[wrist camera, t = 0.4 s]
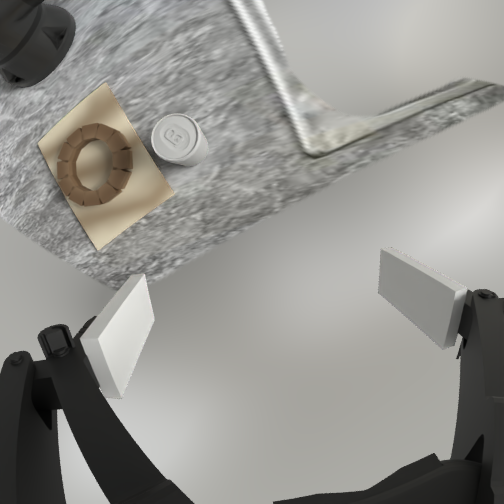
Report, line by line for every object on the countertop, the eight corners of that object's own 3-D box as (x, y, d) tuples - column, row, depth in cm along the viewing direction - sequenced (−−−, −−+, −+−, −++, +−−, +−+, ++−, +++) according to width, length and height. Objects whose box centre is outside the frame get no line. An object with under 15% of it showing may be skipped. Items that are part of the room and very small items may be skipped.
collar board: (39, 143, 33) (28, 142, 30) (106, 83, 32) (98, 77, 29) (99, 249, 38) (91, 255, 35) (174, 194, 37) (170, 195, 34)
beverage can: (192, 173, 37) (177, 172, 25) (165, 152, 36) (139, 142, 24) (216, 145, 36) (211, 131, 25) (188, 124, 35) (172, 102, 24)
